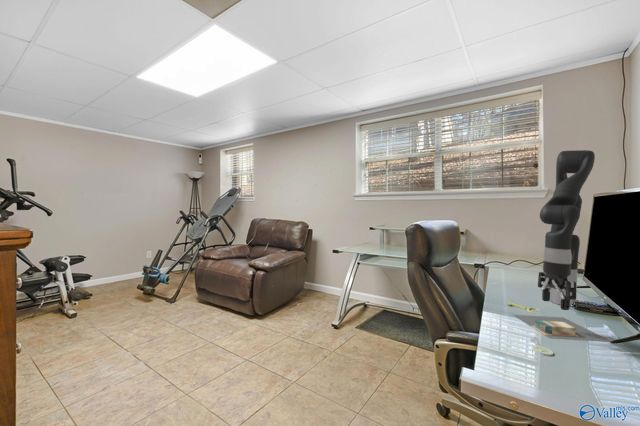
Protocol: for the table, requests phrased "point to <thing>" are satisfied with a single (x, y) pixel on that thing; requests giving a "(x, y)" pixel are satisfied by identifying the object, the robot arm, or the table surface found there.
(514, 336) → the table surface
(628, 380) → the table surface
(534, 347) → the sign
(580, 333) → the mat
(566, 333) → the tile
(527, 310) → the key
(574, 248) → the robot arm
